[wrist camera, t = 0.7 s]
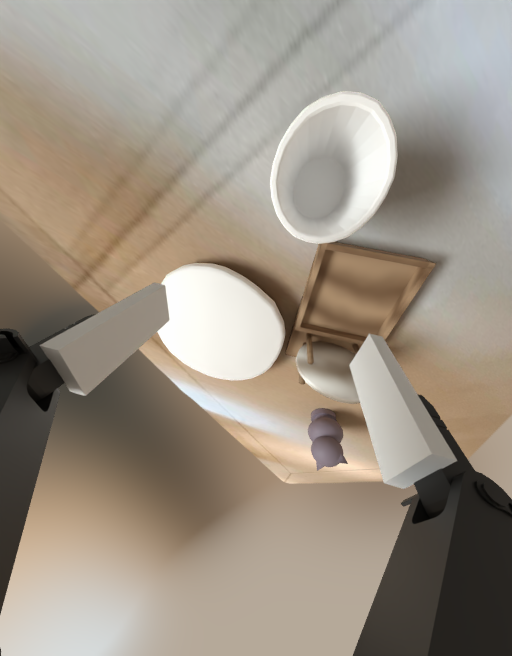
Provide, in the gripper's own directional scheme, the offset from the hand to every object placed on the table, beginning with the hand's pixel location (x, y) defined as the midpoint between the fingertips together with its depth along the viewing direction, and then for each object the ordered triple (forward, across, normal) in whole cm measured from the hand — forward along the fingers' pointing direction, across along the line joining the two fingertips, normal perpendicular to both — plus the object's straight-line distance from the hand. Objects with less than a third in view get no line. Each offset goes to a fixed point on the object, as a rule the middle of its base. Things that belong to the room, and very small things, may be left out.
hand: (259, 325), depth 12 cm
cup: (+23, +2, +9) cm, 25 cm away
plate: (+23, -10, -17) cm, 30 cm away
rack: (+23, +13, -9) cm, 28 cm away
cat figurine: (+22, +20, -39) cm, 49 cm away
